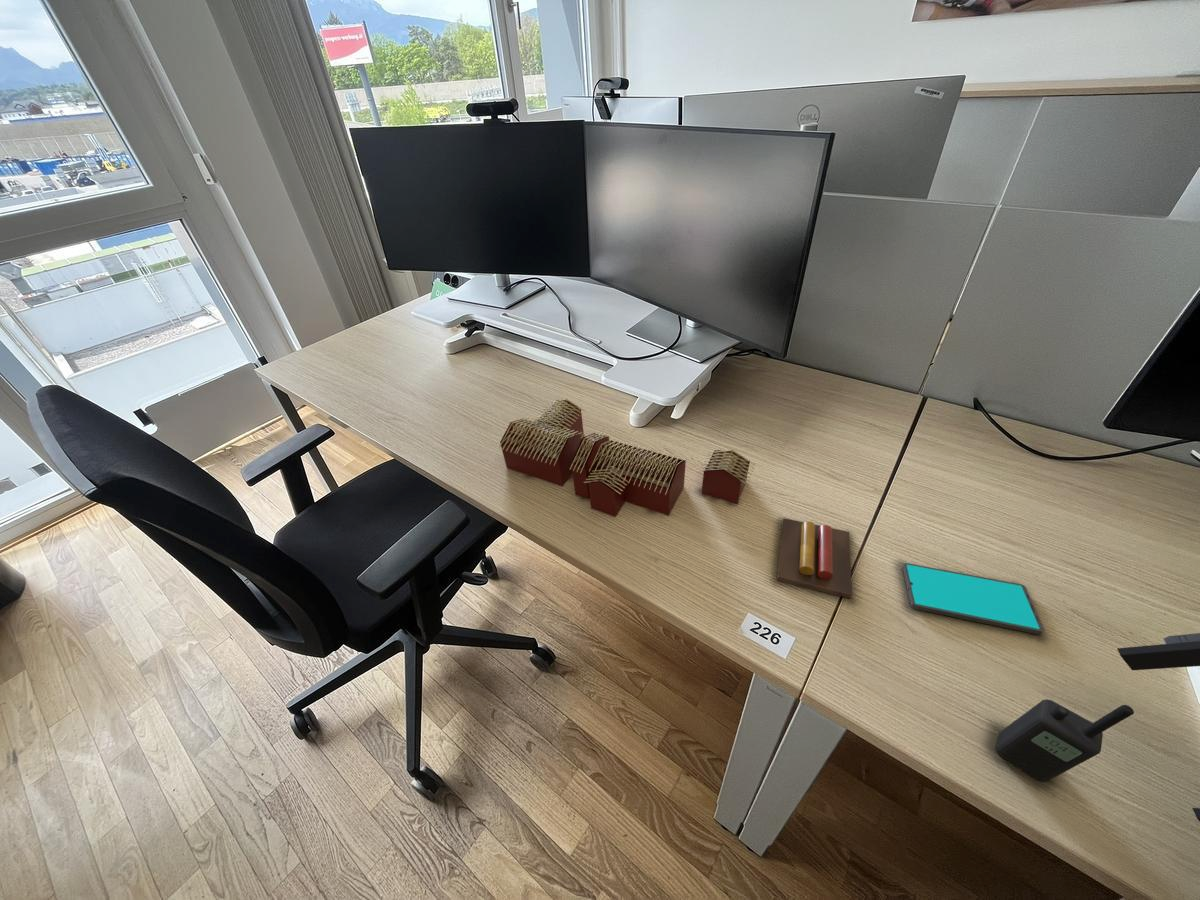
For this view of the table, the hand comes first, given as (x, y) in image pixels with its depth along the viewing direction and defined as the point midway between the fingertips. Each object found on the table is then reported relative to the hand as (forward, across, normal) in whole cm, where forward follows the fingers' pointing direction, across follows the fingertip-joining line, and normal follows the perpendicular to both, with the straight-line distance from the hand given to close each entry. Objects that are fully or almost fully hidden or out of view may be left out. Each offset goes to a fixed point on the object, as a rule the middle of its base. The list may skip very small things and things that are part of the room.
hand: (1157, 731), depth 41 cm
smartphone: (+13, +20, -4) cm, 24 cm away
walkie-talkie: (+12, 0, -5) cm, 13 cm away
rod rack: (+27, +21, +10) cm, 36 cm away
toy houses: (+51, +30, +34) cm, 69 cm away
